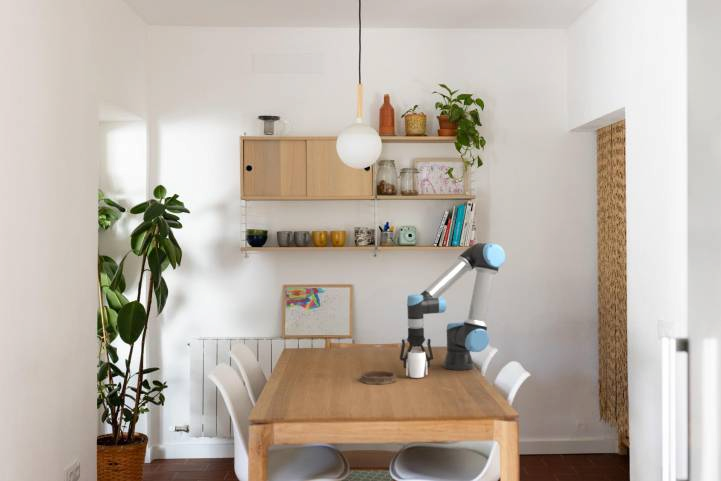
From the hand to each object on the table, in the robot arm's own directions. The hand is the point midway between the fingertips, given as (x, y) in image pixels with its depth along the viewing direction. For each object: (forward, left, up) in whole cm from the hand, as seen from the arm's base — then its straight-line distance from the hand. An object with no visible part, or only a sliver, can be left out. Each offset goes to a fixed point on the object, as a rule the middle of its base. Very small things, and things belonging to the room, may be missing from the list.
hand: (416, 374), depth 319 cm
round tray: (+18, +5, -2) cm, 19 cm away
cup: (0, 0, -1) cm, 1 cm away
